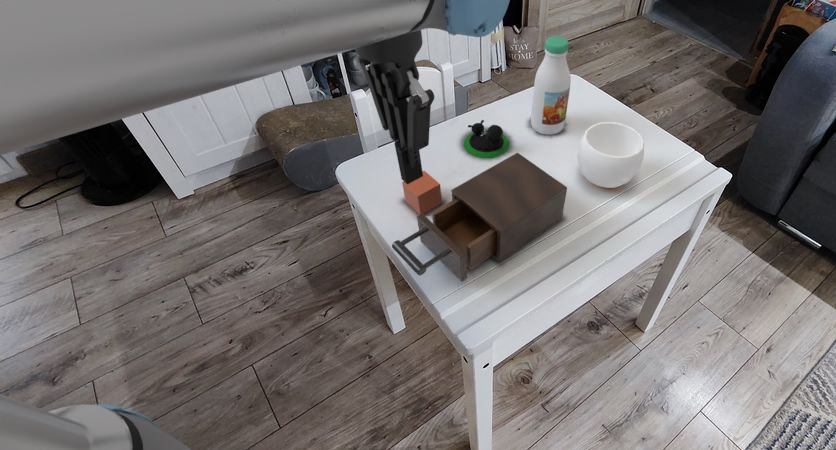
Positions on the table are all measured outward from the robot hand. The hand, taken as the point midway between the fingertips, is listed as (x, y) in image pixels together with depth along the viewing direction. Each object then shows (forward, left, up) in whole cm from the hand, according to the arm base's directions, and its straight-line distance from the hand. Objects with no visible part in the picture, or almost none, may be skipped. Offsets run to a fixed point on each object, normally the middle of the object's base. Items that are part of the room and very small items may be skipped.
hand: (412, 177), depth 66 cm
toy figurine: (+28, +16, -18) cm, 37 cm away
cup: (+39, -8, -18) cm, 44 cm away
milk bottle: (+43, +12, -18) cm, 48 cm away
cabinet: (+16, -4, -18) cm, 24 cm away
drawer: (+5, -4, -17) cm, 18 cm away
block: (+7, +10, -18) cm, 22 cm away
